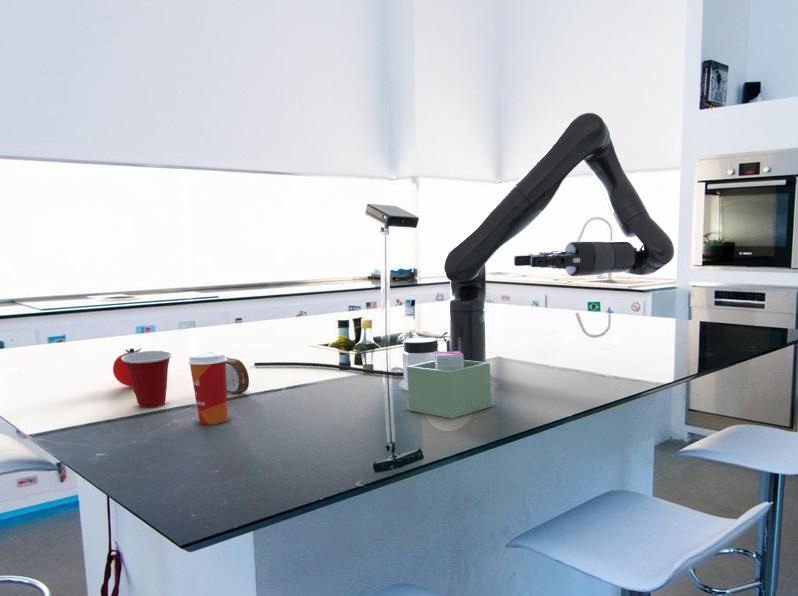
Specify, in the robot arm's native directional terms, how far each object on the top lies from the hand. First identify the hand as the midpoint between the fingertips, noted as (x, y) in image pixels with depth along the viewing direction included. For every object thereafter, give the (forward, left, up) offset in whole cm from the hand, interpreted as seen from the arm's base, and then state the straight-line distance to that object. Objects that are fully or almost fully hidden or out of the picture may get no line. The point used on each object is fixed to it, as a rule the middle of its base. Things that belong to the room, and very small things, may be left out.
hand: (522, 261), depth 163 cm
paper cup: (-41, -54, -30) cm, 74 cm away
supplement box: (-7, -17, -30) cm, 35 cm away
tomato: (-95, -45, -30) cm, 109 cm away
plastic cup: (-68, -54, -30) cm, 92 cm away
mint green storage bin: (-7, -18, -30) cm, 35 cm away
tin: (-66, -35, -30) cm, 80 cm away
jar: (-26, -7, -30) cm, 40 cm away
